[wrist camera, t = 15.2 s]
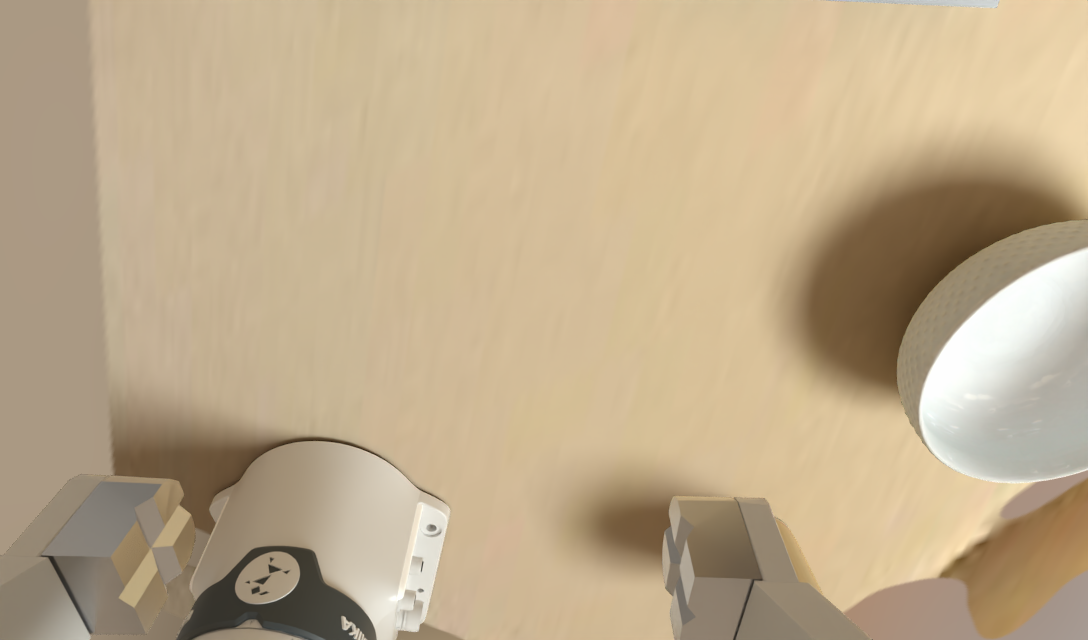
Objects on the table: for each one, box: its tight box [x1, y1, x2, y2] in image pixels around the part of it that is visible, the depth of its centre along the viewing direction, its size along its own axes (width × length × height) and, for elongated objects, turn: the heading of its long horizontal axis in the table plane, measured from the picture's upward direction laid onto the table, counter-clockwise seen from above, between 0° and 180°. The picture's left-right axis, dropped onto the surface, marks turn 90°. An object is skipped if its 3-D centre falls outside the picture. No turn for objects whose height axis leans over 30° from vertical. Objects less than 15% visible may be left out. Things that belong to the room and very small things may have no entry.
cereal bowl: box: [897, 219, 1088, 483], centre depth 39 cm, size 17×17×7 cm
